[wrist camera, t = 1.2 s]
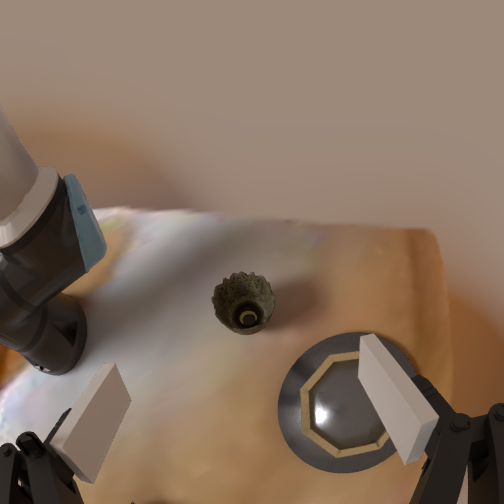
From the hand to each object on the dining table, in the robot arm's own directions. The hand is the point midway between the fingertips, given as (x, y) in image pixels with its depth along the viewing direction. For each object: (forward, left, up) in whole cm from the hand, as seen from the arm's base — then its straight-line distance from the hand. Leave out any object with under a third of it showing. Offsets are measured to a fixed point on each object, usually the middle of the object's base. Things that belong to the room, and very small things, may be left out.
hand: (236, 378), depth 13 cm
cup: (-9, +7, -24) cm, 27 cm away
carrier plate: (+10, +7, -24) cm, 27 cm away
